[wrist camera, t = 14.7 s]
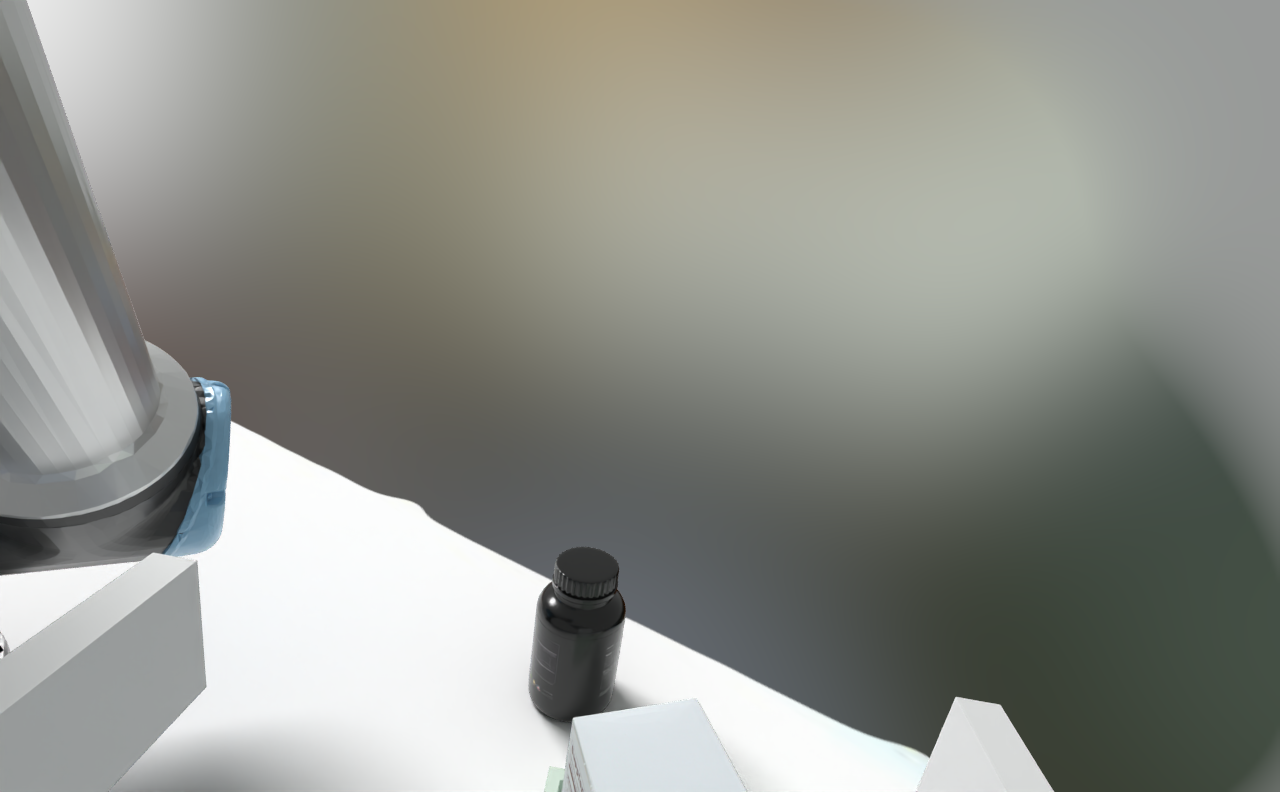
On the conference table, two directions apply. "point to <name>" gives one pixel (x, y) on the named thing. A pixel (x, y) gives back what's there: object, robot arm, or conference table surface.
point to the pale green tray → (554, 780)
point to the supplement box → (648, 752)
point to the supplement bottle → (577, 636)
